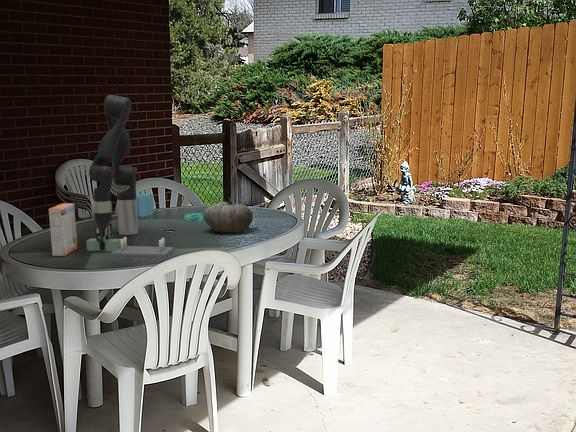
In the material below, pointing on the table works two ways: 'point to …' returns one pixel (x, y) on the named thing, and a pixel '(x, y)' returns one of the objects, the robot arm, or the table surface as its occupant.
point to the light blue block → (144, 205)
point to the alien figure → (194, 217)
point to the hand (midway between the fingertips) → (104, 248)
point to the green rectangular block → (109, 244)
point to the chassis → (142, 250)
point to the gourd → (228, 217)
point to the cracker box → (63, 229)
